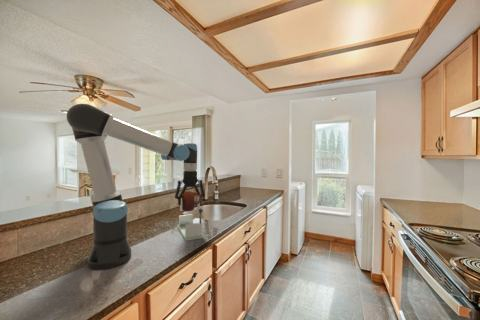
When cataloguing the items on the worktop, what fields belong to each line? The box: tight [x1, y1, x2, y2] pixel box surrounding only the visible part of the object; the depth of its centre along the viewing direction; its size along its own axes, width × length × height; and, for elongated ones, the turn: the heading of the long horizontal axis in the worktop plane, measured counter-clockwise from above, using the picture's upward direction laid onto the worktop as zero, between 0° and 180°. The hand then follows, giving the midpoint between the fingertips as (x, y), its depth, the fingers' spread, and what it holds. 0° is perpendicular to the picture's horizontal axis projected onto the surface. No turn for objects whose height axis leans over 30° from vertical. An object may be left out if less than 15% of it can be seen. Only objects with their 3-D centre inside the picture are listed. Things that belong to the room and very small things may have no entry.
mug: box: [179, 190, 201, 212], centre depth 115 cm, size 12×9×10 cm
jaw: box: [178, 213, 194, 226], centre depth 126 cm, size 8×8×6 cm
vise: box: [176, 208, 204, 242], centre depth 115 cm, size 10×22×15 cm, turn 27°
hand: (189, 209), depth 115 cm, fingers closed on mug, 9 cm apart
